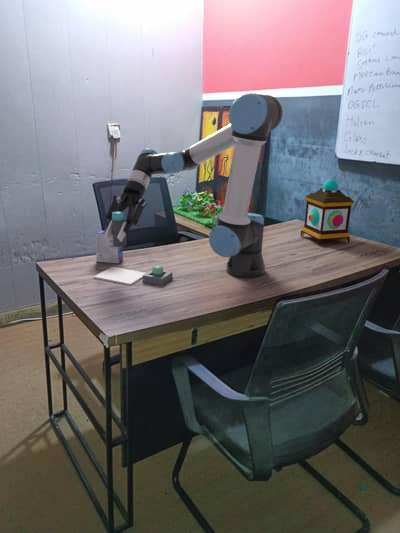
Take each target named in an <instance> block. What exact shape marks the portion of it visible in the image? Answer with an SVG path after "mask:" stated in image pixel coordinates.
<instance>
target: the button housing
mask: <svg viewBox="0 0 400 533" xmlns="http://www.w3.org/2000/svg"><path fill="white" fill-rule="evenodd" d="M145 273H146V274H144V275H143V278H142V282H143V283H147V284H153V285H158V286H164V285H165V284H166V283H168V282H170V280H172V279H173V271H169V270H164V269H163V275H162V276H160V277H159V276H153V275H152V269H151V270H149V271H147V272H145Z"/></svg>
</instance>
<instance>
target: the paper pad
mask: <svg viewBox="0 0 400 533" xmlns="http://www.w3.org/2000/svg"><path fill="white" fill-rule="evenodd" d="M146 273H147V272H144V271H139V270H138V271H137V270H132V269H127V268H122V267H115V266H110V267H109V268H107V269H106V270H103V271H101V272H99V273H97V274H95V275H94V276H93V278H94V279H96V280H102V281H107V282H113V283H118V284H122V285H127V286H132V285H134V284H135V283H137V282H138V281H139V282H140V280H143V275H144V274H146Z"/></svg>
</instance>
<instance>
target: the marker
mask: <svg viewBox="0 0 400 533" xmlns="http://www.w3.org/2000/svg"><path fill="white" fill-rule="evenodd" d="M125 218H126V217H125V212H124V211H123V212H112V237H113V246H114V247H123V248H124V247H125V246H127V233H126V234H125V236H124V238H123V241H120V240H119V239H118V238H117V236H118V234H119V232H120V230H121V227H122V225H123V223H124V222H126V221H125V220H126V219H125Z"/></svg>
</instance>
